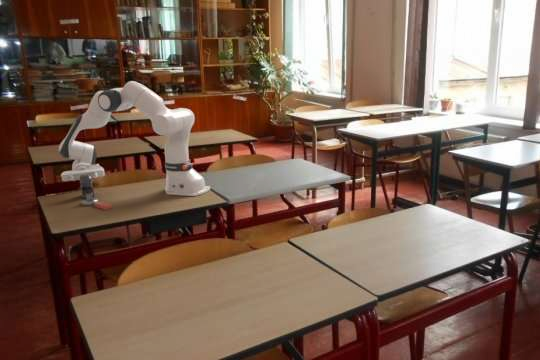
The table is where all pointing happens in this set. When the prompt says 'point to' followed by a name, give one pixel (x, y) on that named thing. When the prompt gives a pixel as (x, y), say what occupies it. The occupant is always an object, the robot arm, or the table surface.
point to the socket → (86, 185)
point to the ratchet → (95, 202)
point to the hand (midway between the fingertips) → (84, 177)
